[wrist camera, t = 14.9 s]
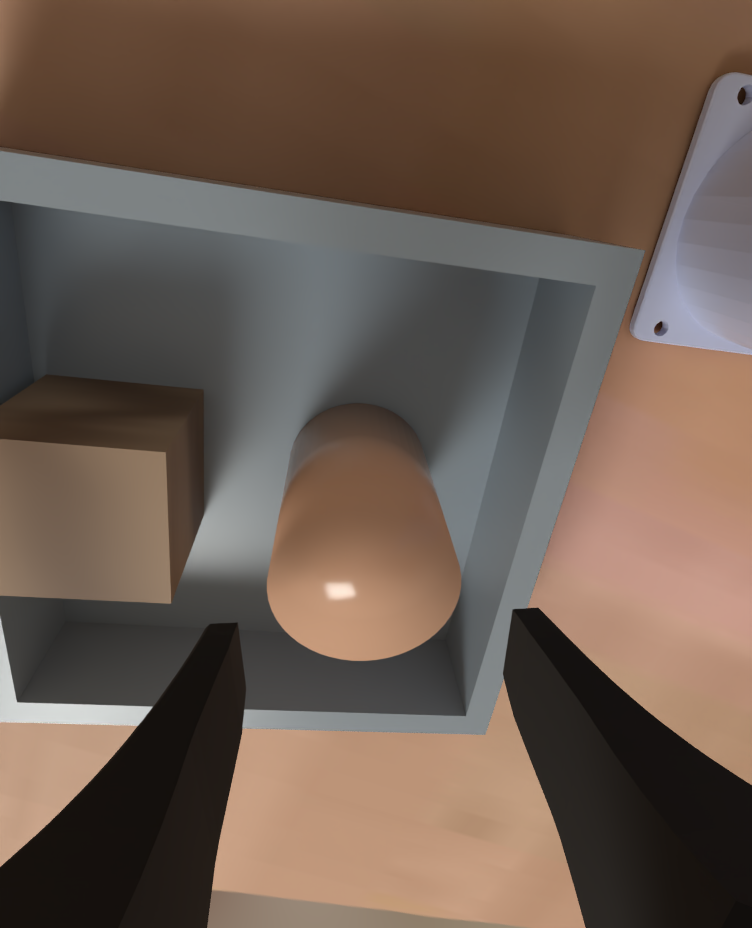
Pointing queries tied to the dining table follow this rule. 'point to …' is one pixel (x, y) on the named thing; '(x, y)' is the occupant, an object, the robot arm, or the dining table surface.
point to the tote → (300, 416)
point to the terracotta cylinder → (361, 539)
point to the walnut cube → (99, 489)
